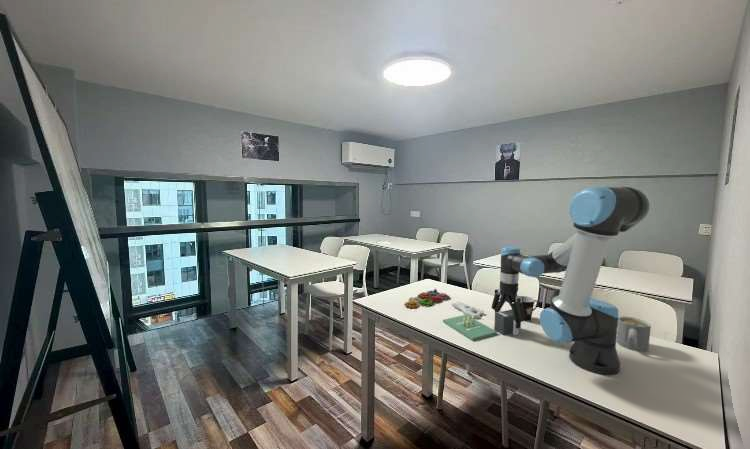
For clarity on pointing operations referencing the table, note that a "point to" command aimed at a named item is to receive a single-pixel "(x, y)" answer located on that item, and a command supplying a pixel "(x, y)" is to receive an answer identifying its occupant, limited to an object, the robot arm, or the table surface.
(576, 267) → the robot arm
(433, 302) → the gear puzzle
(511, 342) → the table surface
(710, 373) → the table surface
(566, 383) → the table surface
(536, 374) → the table surface
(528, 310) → the coffee mug
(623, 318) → the coffee mug
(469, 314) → the gun
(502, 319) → the plug
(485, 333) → the board
